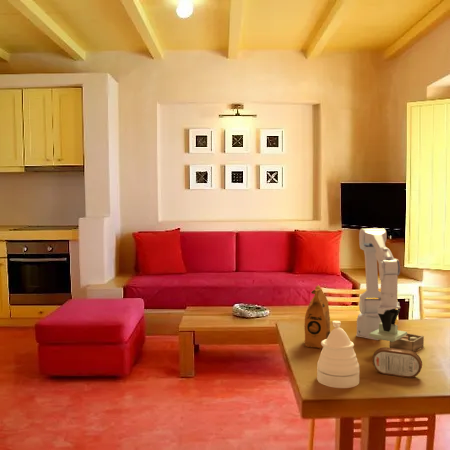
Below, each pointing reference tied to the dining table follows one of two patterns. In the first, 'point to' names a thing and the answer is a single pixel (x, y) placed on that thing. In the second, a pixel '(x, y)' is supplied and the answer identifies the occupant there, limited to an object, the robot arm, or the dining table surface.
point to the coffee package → (317, 320)
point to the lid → (388, 333)
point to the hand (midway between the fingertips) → (388, 330)
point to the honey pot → (338, 360)
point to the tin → (397, 362)
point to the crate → (408, 342)
